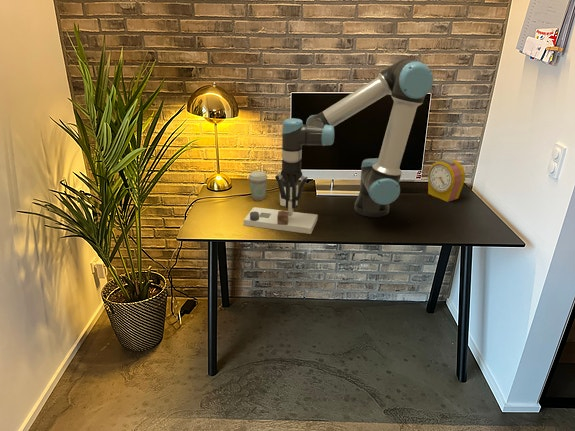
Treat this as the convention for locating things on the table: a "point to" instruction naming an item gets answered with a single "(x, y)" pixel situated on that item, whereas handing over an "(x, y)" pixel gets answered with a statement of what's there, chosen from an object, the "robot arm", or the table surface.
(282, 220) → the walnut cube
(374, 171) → the robot arm
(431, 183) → the alarm clock
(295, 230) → the plate
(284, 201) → the jar
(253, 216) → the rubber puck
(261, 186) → the coffee cup
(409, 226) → the table surface
